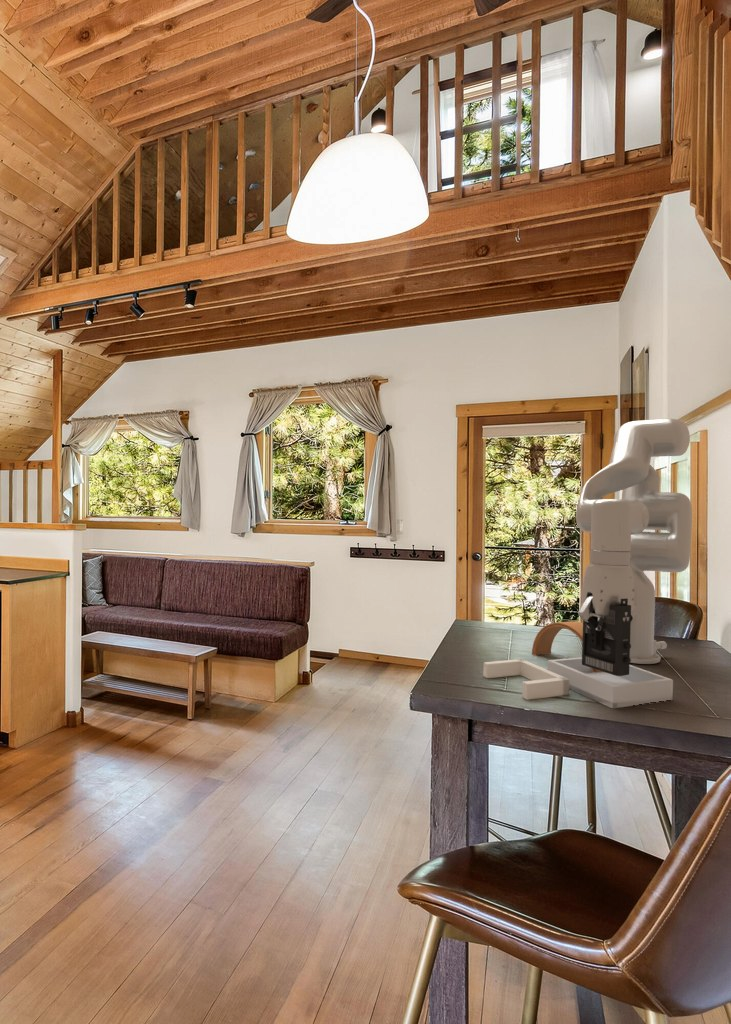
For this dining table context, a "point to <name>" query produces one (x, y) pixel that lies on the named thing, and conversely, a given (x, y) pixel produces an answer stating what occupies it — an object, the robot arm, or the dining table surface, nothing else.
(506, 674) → the cream piece
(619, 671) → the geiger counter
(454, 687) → the dining table surface
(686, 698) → the dining table surface
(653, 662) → the robot arm
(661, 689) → the parts tray
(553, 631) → the arch
